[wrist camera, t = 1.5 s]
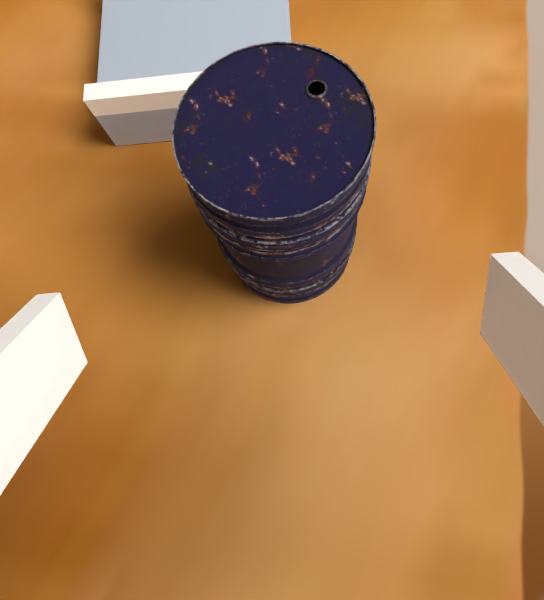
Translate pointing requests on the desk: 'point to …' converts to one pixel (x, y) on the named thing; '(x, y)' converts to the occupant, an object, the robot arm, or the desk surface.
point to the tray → (168, 57)
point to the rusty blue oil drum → (278, 163)
